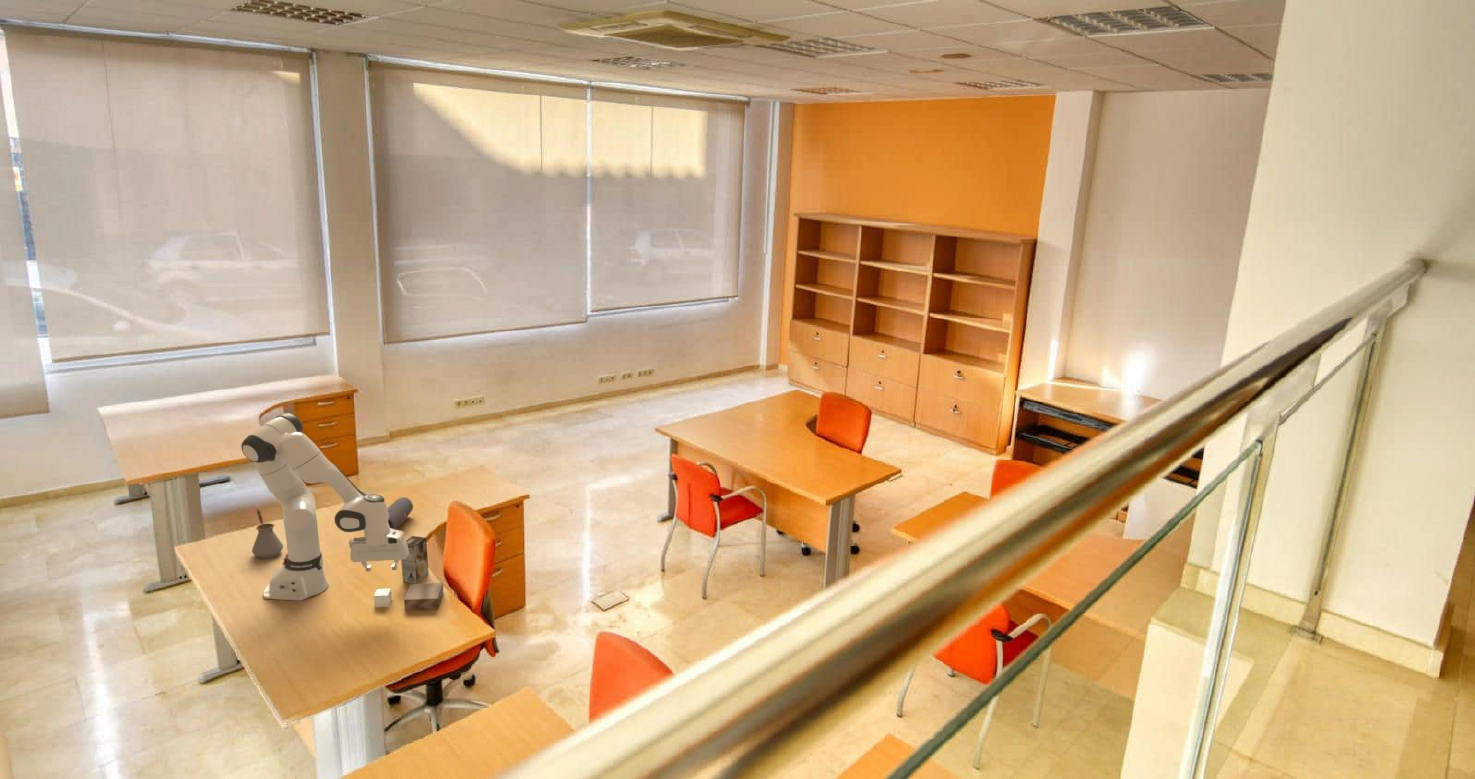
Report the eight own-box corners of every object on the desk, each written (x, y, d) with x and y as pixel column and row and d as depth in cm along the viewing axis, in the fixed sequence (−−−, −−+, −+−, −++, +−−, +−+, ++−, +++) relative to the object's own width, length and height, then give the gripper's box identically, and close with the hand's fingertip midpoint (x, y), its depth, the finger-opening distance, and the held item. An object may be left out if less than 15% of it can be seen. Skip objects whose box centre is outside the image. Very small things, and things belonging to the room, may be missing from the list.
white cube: (374, 607, 329) (373, 595, 327) (378, 600, 334) (377, 589, 332) (388, 607, 330) (387, 595, 328) (391, 600, 334) (390, 588, 333)
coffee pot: (286, 556, 364) (282, 523, 360) (255, 563, 357) (251, 530, 353) (276, 537, 380) (272, 505, 376) (246, 543, 374) (242, 511, 370)
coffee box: (414, 571, 357) (412, 535, 352) (429, 573, 355) (426, 537, 351) (402, 581, 348) (399, 545, 344) (416, 583, 347) (414, 547, 342)
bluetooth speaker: (396, 538, 384) (394, 517, 382) (375, 537, 384) (373, 516, 382) (415, 516, 406) (413, 496, 403) (395, 515, 406) (393, 495, 404)
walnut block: (405, 611, 327) (404, 599, 326) (411, 595, 339) (410, 584, 337) (438, 610, 329) (437, 598, 328) (443, 594, 341) (442, 582, 339)
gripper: (345, 541, 319) (350, 575, 323) (404, 539, 322) (407, 572, 326) (350, 534, 325) (354, 567, 329) (407, 531, 328) (411, 564, 332)
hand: (381, 570), depth 328 cm, fingers open, 8 cm apart
